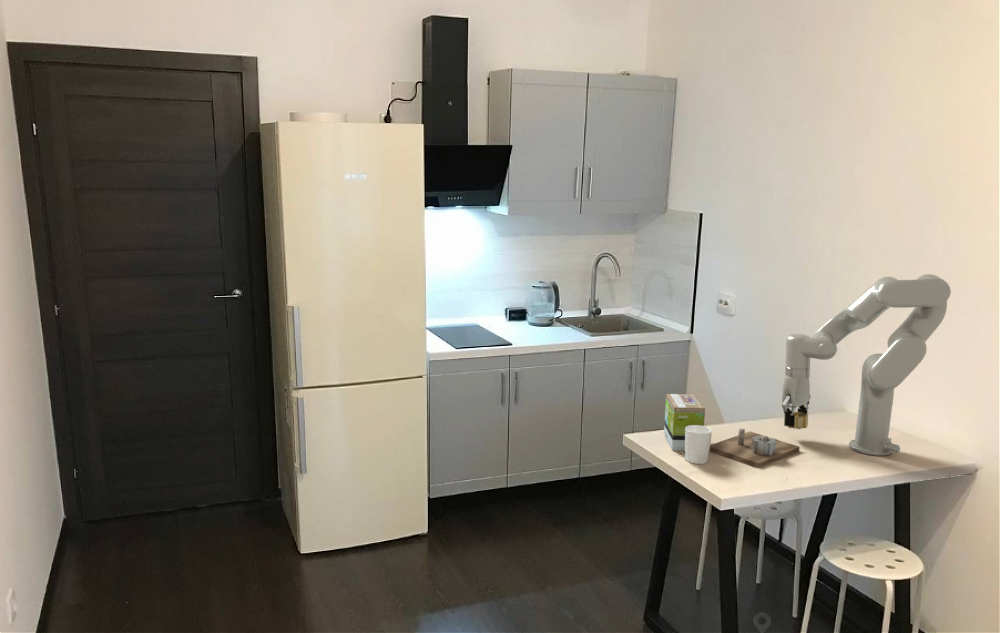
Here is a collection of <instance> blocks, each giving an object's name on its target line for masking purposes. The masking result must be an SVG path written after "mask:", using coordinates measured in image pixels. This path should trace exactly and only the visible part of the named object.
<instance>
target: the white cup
mask: <svg viewBox="0 0 1000 633" xmlns="http://www.w3.org/2000/svg"><path fill="white" fill-rule="evenodd" d="M712 432H713V431H712V429H711V428H710V427H708V426H706V425H704V426H700V425H689V426H686V427H685V451H684V458H685V459H684V460H685V461H686V462H688V463H691V464H695V465H703V464H706V463H708V462H709V461H708V459H709V453H710V451H709V449H710V445H711V441H712V440H711V439H712Z"/></svg>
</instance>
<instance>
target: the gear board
mask: <svg viewBox="0 0 1000 633" xmlns="http://www.w3.org/2000/svg"><path fill="white" fill-rule="evenodd" d="M757 435H758V436H761V441H767V436H768V435H763V434H760V433H756V432H753V431H747V432H746V429H744V428H739V429H738V435H735V436H732V437H730V438H726V439H724V440H721V441H717V442H715V443H712V444H710V449H709V452H710V453H714V454H717V455H719V456H722V457H725V458H728V459H731V460H734V461H737V462H739V463H742V464H746V465H748V466H750V467H754V468H757V469H759V468H760V467H764V466H766V465H768V464H771V463H774V462H776V461H778V459H779V460H781V459H783V458H785V457H788V456H791V455H794V454H795V453H798V452H800V446H798V445H795V444H792V443H788V442H786V441H782V440H779V439H777V438H774V439H775V441H777V445H776V454H773V455H772V456H768V455H763V456H762V455H760V454H757V453H753V452H752V450H751V440H752V437H756V436H757Z"/></svg>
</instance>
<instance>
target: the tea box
mask: <svg viewBox="0 0 1000 633" xmlns="http://www.w3.org/2000/svg"><path fill="white" fill-rule="evenodd" d="M705 415H706V408H705V406H704V405H703V404H702V402H701V401H700V399H699V398H698V397H697V395H696V394H693V393H692V394H691V393H690V394H689V393H688V394H686V393H684V394H681V393H679V394H678V393H666V394H665V409H664V428H663V434H664V437H665V438H666V440H667V443H668V445H669V447H670V448H671V451H683V452H685V427H686V426H689V425H700V426H705Z"/></svg>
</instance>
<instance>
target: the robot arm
mask: <svg viewBox="0 0 1000 633" xmlns="http://www.w3.org/2000/svg"><path fill="white" fill-rule="evenodd" d="M951 292H952V291H951V286H950V285H949V283H948V282H947V281H946V280H945V279H943V278H941V277H940V276H938V275H935V274H930V273H929V274H928V273H927V274H923V275H920V276H919V277H918V278H916V279H897V278H895V277H892V276H883V277H882V278H879V279H878V280H877V281H875V282H874V283H873V284H872V285H871V286H870V287H868V288H867V290H865V291H864V292H863V293H862V294H861V295H860V296H859V297H857V298H856V299H855V300H853V302H852V303H850V304H849V305H848V306H847V307H845V308H844V309H842V310H841V311H840V312H839V313H837V314H836V315H835V316H833V317H831V319H829V320H828V321H827V322H826V323H824V324H823V325H822V326H821V327H820V328H819V329H818V330H816V331H815V333H814V334H813V335H812V336H811V337H810V336H809V335H807V334H802V333H801V334H800V333H798V334H797V333H791V334H789V335H788V336H787V337H786V339H785V340H786V341H785V343H786V344H785V374H784V380H783V385H782V391H781V392H782V393H781V394H782V396H781V407H782V410H783V414H785V426H784V427H787V426H790V427H794V421H795V415H793V414H794V411H795V410H796V408H797V412H803V413H805V414H808V410H809V404H810V400H811V398H812V396H811V394H810V393H811V388H810V375H811V359H815V360H821V361H822V360H824V361H826V360H830V359H832V358H834V357H835V355H836V354H837V352H838V346H837V345H838V344H839V343H840V342H841V341H842V340H843V339H845V338H846V337H847V336H849V335H850V334H852V333H854V332H855V331H857V330H861V329H865V328H867V327H869V326H870V325H871V324H872V323H873V322H874V321H875V320H877V319H878V318H879V317H880V316H881V315H882V314H884V313H885V312H886V311H887V310H889V309H890V308H898V309H899V308H903V309H904V308H913V309H912V311H911V313H909V314H908V316H907V317H906V318H905V319H904V321H903V322H902V323H901V324H899V326H897V328H896V329H895V330H894V331H893V332H892V333H891V334H890V335H889V337H888V339H887V344H886V345H887V347H888V348H887V349H886V351H884V352H883V353H874V354H871V355H869V356H867V358H866V359H865V360H864V361H863V364H862V367H861V368H862V369H861V383H860V384H861V386H860V392H859V393H860V395H859V403H858V411H857V419H856V426H855V427H856V428H855V435H854V436H855V437H854V439H852V440H849V442H848V447H849V448H851V449H852V450H853V451H855V452H857V453H860V454H865V455H869V456H870V455H871V456H877V457H880V456H882V457H884V456H889V455H891V454H892V452H894V453H899V454H900V452H901V447H900V445H899V444H895V443H893V442H892V438H891V437H889V435H890V434H889V432H890V426H891V418H892V410H893V404H894V395H895V394H894V393H895V389H896V388H897V387H899V385H901V384H902V383H903V382H904V381H905V380H906V379H907V378H908V376H909V375H910V374H911V373H913V371H914V370H915V369H916V368H917V367H918V366H919V364H920V363H921V362H922V361H923V360H924V359H925V356H926V354H927V344H926V342H927V340H928V339H929V338H930V337H931V336H932V335H933V334H934V333H935V331H936V330H937V329H938V328H939V326H940V325H941V324H942V322H943V320H944V318H945V316H946V313H947V308H948V300H949V299H950V296H951ZM790 408H791V409H790ZM795 412H796V411H795Z"/></svg>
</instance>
